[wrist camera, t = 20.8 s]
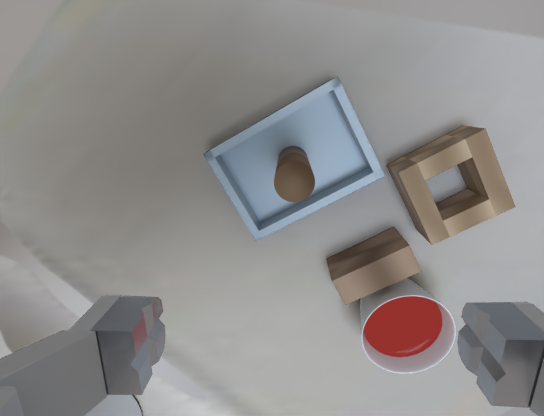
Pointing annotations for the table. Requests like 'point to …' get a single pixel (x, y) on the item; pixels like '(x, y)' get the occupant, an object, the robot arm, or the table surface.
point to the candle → (405, 328)
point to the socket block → (460, 207)
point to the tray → (317, 145)
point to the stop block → (372, 265)
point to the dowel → (294, 175)
